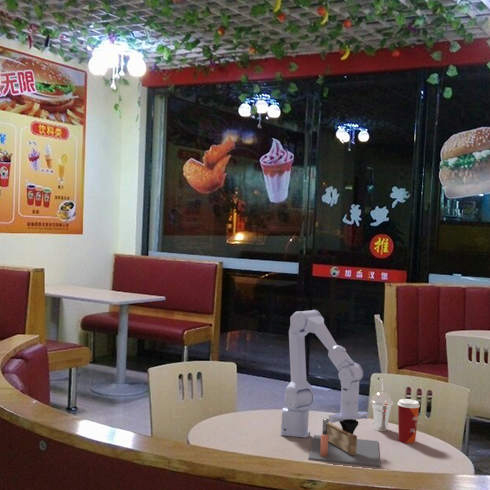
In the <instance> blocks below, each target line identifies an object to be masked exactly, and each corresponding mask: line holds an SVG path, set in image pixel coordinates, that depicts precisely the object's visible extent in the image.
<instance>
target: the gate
mask: <svg viewBox="0 0 490 490" xmlns="http://www.w3.org/2000/svg"><path fill="white" fill-rule="evenodd" d="M327 425H328V426H327V435H328V436H329V438H328V441H329V442H331V443H333V444H334V445H336V446H338V447H339V448H341V449H343V450H344V451H346V452H348V453H349V454H350V455H356V446H357V439H358V436H357V435H356V434H354V433H353V434H350V433H349V432H347V431H345V430H343V429H342V427H339V426H337V425H336V424H334V423H331V422H328V423H327Z"/></svg>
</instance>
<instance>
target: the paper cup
mask: <svg viewBox="0 0 490 490" xmlns="http://www.w3.org/2000/svg"><path fill="white" fill-rule="evenodd" d="M420 407H421V405H420V402H419V401H418V400H415V399H412V398H411V399H410V398H401V399H399V400H398V402H397V409H398V412H397V413H398V417H397V418H398V422H397V423H398V424H397V425H398V430H397V431H398V441H399V442H400V443H403V444H408V443H411V444H415V443H416V438H417V430H418V429H417V426H418V419H419V409H420Z"/></svg>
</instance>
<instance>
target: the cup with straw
mask: <svg viewBox="0 0 490 490" xmlns="http://www.w3.org/2000/svg"><path fill="white" fill-rule="evenodd" d="M377 380H379V381H380V380H381V388H380V389H381V391H378V392H376V393H374V394H373V397H372V398H371V399H370V401H369V403H370V404H371V408H372V413H373V415H372V416H373V426H374V428H373V429H374V430H375V431H379V432H386V431H387V430H388V429H387V428H388V425H389V424H388V423H389V419H390V414H391V413H390V412H391V409H392V406H393V405H394V401H393V400H392V397H391V396H390V394H389V393H387V392H385V391H384V384H385V383H384V377H377Z"/></svg>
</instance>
